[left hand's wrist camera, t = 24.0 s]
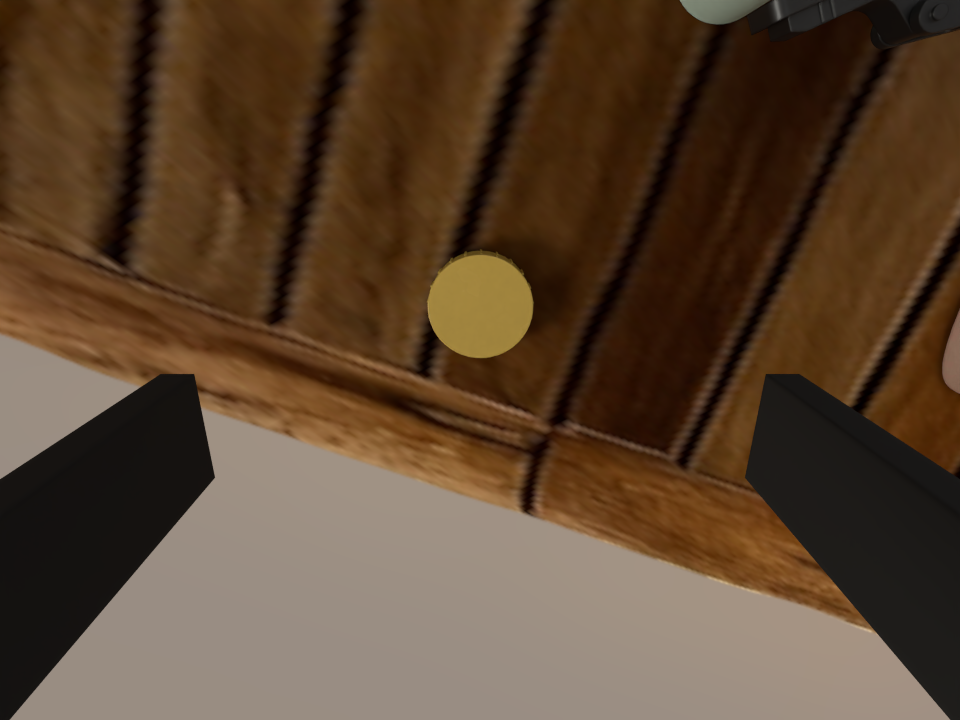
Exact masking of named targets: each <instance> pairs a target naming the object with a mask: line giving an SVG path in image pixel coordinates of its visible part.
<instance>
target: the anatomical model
mask: <svg viewBox="0 0 960 720" xmlns="http://www.w3.org/2000/svg"><path fill="white" fill-rule="evenodd" d="M942 374H943V378H944V381H945V383H946V384H947V386H948V387H949V388H951V389H952V390H954V391H955V392H957V393H960V310H959V312H958V315H957V317H956V320H955V322H954V324H953V327H952V330H951V333H950V336H949V339H948V342H947V345H946V350H945V354H944V358H943V364H942Z"/></svg>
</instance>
